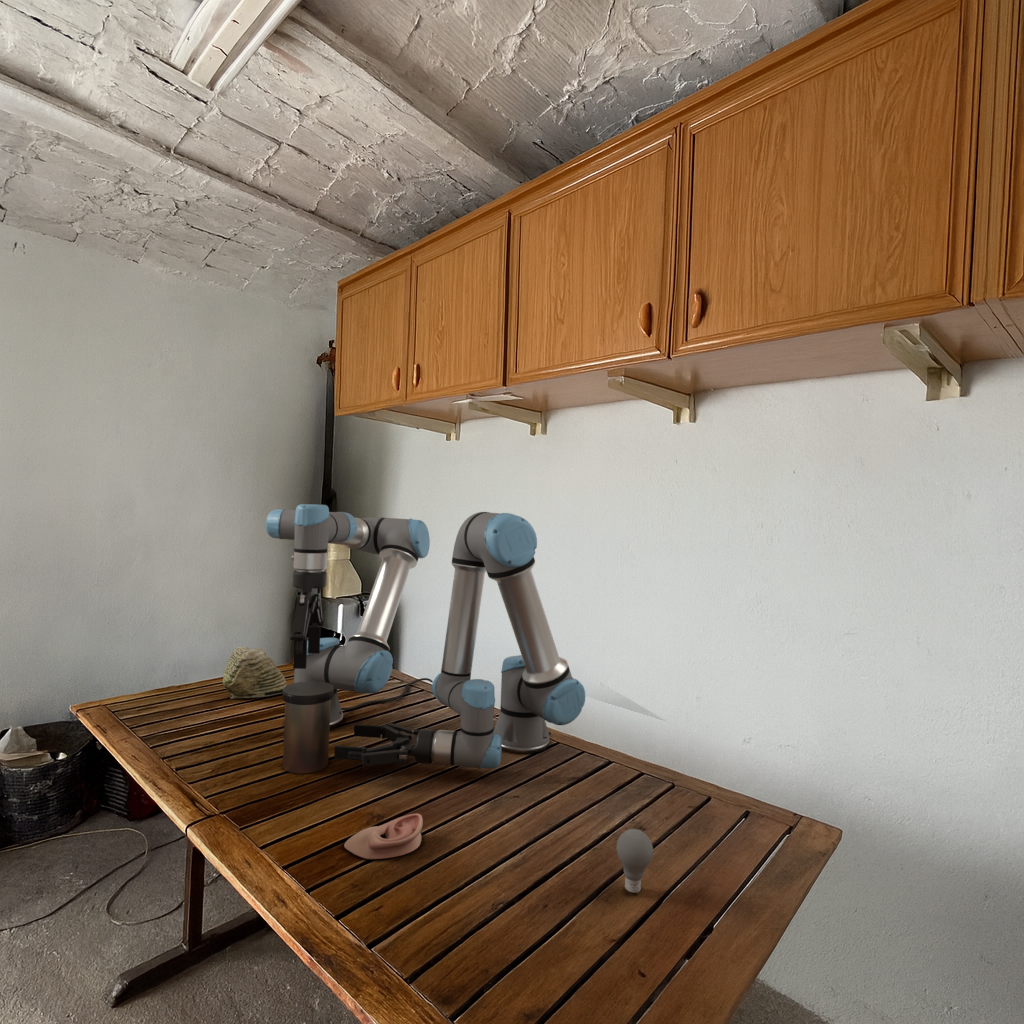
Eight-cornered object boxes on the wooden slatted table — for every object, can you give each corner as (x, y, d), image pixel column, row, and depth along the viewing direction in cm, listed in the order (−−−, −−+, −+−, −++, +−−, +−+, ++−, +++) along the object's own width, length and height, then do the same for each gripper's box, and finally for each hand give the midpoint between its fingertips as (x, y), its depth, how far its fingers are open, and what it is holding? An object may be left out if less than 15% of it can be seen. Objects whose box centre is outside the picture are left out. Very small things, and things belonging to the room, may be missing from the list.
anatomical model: (336, 832, 112) (364, 802, 124) (336, 854, 112) (363, 822, 124) (407, 843, 110) (429, 812, 121) (406, 866, 110) (428, 832, 121)
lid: (279, 706, 142) (279, 696, 142) (284, 690, 153) (284, 681, 153) (333, 704, 145) (333, 694, 145) (334, 688, 156) (334, 680, 156)
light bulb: (610, 879, 108) (613, 822, 108) (644, 879, 109) (647, 822, 109) (619, 902, 102) (622, 840, 102) (655, 901, 103) (658, 840, 103)
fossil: (218, 695, 195) (220, 647, 195) (278, 685, 208) (279, 640, 207) (228, 703, 189) (230, 653, 188) (289, 692, 201) (290, 645, 201)
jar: (280, 775, 143) (283, 697, 143) (284, 756, 153) (287, 684, 153) (327, 772, 146) (330, 696, 145) (328, 754, 156) (331, 683, 155)
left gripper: (306, 563, 160) (303, 647, 161) (278, 576, 135) (275, 675, 136) (336, 564, 161) (333, 647, 161) (314, 577, 136) (310, 675, 136)
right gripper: (422, 787, 134) (324, 779, 136) (443, 742, 159) (361, 736, 161) (423, 752, 134) (326, 745, 136) (445, 713, 159) (362, 707, 161)
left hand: (307, 660), depth 149 cm, fingers open, 13 cm apart
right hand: (345, 740), depth 148 cm, fingers open, 13 cm apart
